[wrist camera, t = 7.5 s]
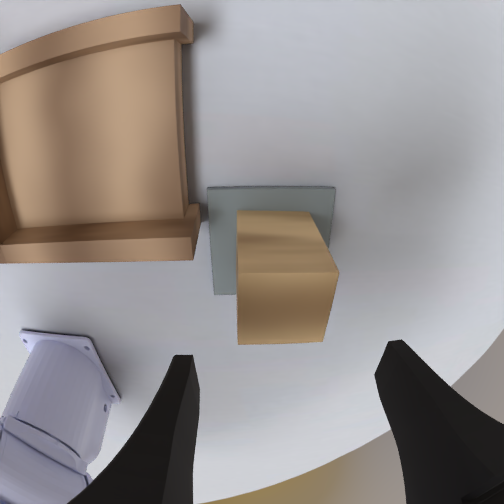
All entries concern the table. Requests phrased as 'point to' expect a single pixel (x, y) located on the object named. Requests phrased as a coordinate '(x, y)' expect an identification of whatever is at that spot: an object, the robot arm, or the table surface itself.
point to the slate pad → (257, 199)
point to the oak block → (282, 278)
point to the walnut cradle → (97, 143)
